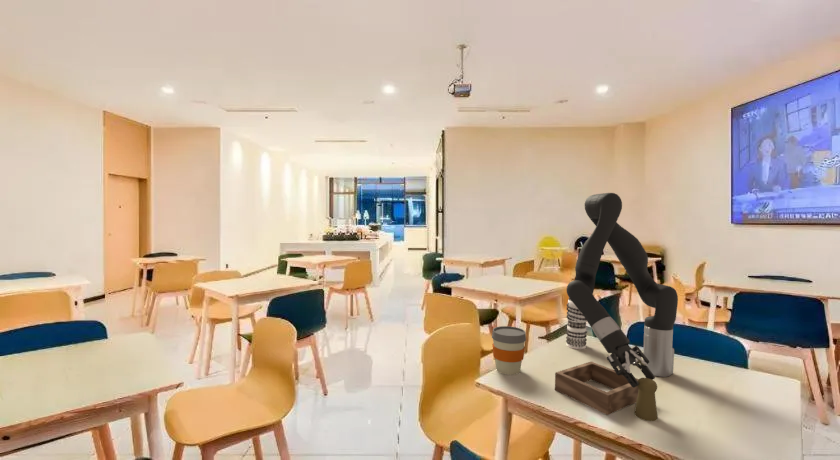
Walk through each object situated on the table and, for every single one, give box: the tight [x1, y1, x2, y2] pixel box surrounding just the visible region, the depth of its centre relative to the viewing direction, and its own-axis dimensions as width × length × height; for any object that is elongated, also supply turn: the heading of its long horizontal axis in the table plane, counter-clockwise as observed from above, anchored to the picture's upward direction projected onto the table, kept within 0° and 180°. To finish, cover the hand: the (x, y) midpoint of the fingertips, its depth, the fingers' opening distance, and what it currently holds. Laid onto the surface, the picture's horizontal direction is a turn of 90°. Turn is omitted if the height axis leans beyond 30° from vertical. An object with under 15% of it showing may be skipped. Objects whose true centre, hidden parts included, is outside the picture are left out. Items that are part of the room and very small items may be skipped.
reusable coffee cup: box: [491, 325, 527, 376], centre depth 152 cm, size 13×13×15 cm
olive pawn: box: [634, 377, 658, 422], centre depth 119 cm, size 6×6×11 cm
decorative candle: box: [565, 297, 588, 350], centre depth 179 cm, size 9×9×25 cm
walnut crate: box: [554, 361, 640, 416], centre depth 133 cm, size 19×19×6 cm
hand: (644, 382), depth 120 cm, fingers open, 8 cm apart
